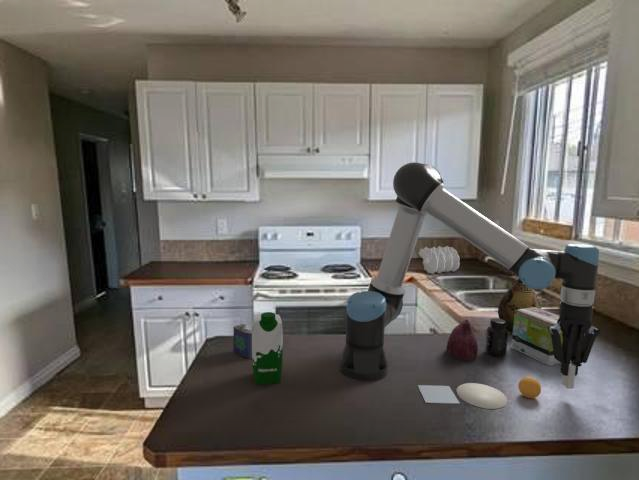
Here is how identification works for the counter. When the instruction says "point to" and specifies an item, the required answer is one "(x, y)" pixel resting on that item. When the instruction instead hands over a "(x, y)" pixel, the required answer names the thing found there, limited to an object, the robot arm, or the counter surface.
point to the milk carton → (267, 348)
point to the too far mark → (438, 394)
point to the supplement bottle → (496, 338)
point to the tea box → (534, 334)
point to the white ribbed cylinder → (439, 259)
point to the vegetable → (462, 343)
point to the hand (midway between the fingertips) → (567, 385)
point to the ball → (529, 387)
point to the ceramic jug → (516, 303)
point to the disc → (482, 396)
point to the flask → (242, 341)
